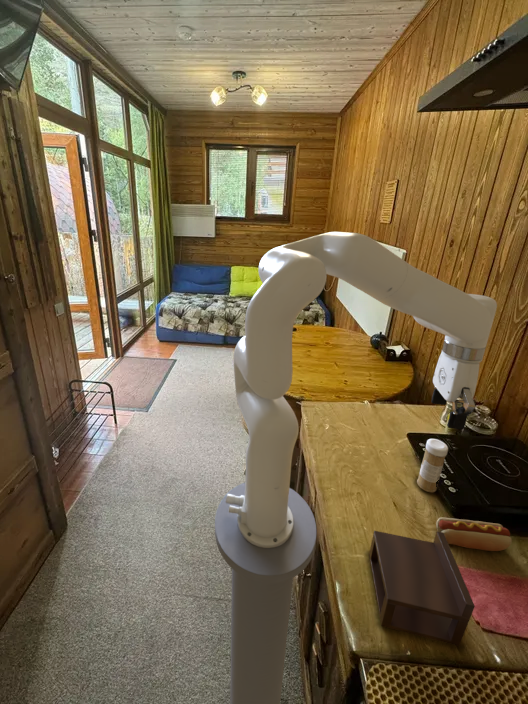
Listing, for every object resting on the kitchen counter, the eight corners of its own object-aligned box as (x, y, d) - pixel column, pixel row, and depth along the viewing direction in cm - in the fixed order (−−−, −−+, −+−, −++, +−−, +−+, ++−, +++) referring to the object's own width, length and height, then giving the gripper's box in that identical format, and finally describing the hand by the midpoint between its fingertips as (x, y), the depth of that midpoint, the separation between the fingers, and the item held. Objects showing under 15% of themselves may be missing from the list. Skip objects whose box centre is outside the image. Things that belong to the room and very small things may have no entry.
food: (495, 532, 69) (501, 516, 67) (513, 558, 63) (520, 541, 62) (429, 525, 70) (434, 509, 69) (441, 550, 65) (447, 532, 63)
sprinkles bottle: (423, 476, 83) (434, 435, 79) (440, 489, 80) (452, 446, 75) (412, 482, 81) (423, 441, 77) (429, 496, 78) (441, 452, 73)
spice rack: (381, 626, 53) (391, 586, 49) (368, 555, 64) (376, 519, 61) (459, 646, 50) (475, 606, 47) (432, 569, 61) (443, 532, 58)
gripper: (430, 334, 77) (417, 394, 83) (461, 365, 61) (443, 436, 67) (463, 337, 76) (448, 397, 81) (504, 369, 60) (482, 441, 65)
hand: (446, 415), depth 74 cm, fingers open, 9 cm apart
